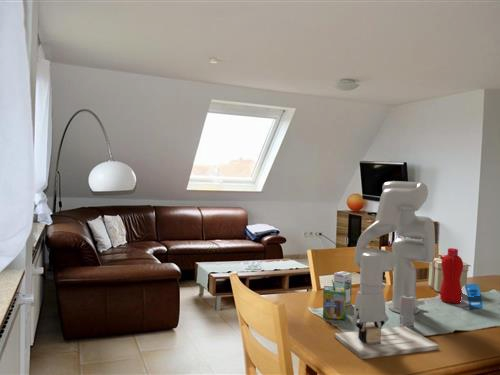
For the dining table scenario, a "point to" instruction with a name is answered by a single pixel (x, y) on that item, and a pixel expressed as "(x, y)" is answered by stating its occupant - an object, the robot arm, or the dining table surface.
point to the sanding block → (372, 334)
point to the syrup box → (344, 283)
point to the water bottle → (451, 277)
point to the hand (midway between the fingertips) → (369, 340)
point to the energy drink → (407, 311)
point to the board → (387, 343)
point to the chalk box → (334, 302)
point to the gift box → (437, 274)
